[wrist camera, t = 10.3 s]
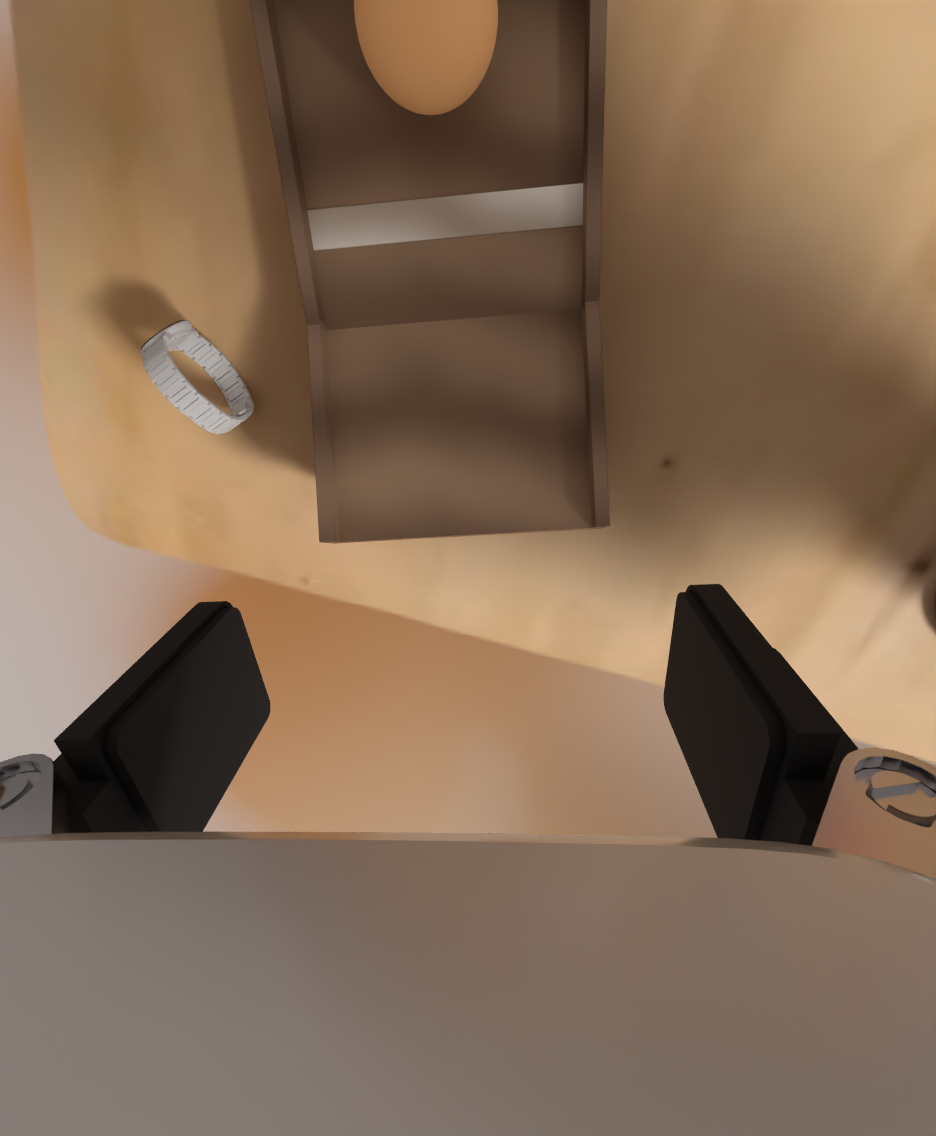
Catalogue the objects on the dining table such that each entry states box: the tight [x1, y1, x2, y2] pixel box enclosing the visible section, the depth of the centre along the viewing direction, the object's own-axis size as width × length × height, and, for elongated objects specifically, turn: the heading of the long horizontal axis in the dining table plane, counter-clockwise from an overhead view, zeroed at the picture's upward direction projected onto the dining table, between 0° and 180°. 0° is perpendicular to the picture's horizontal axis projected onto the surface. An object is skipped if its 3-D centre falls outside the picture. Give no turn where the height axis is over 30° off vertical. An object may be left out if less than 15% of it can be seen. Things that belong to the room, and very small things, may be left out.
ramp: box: [250, 0, 610, 543], centre depth 21 cm, size 22×13×7 cm, turn 4°
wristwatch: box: [141, 320, 254, 434], centre depth 25 cm, size 3×5×5 cm, turn 32°
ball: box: [354, 0, 498, 115], centre depth 17 cm, size 5×5×5 cm
